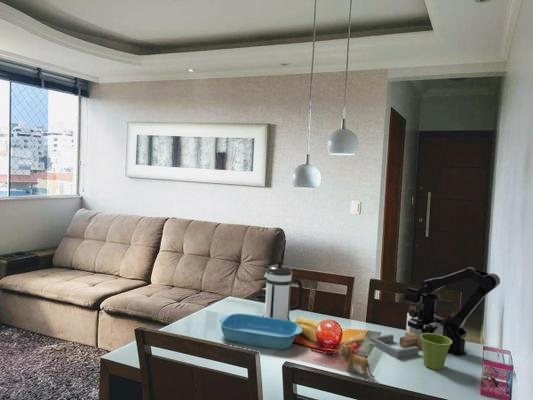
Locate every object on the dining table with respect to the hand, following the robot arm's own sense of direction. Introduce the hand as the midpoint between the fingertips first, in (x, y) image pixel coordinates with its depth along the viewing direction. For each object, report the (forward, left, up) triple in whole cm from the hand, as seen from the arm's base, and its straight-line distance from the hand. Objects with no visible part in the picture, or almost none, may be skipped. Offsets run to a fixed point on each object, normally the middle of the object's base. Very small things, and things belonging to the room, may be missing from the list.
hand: (425, 341), depth 195 cm
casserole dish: (+29, +69, -2) cm, 75 cm away
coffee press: (+48, +49, -1) cm, 69 cm away
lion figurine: (-12, +50, -1) cm, 51 cm away
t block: (0, +9, -1) cm, 9 cm away
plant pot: (-19, +16, -1) cm, 25 cm away
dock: (0, +20, -1) cm, 20 cm away
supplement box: (+13, -1, +3) cm, 13 cm away
